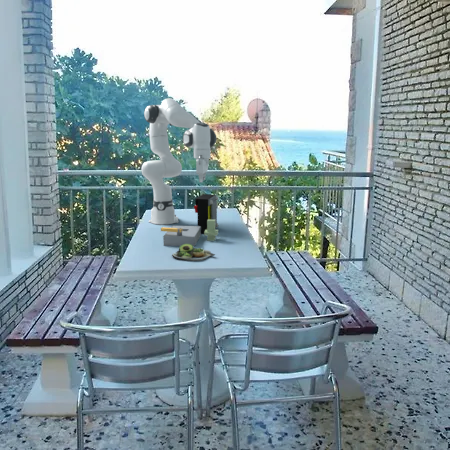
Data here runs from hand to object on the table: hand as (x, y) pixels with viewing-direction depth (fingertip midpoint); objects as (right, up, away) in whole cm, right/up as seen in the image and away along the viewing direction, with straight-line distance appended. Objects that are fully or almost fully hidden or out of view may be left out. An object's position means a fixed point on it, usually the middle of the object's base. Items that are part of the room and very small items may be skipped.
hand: (202, 181), depth 244 cm
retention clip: (-15, -28, -7) cm, 33 cm away
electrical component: (+2, -27, +24) cm, 36 cm away
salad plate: (-4, -38, -26) cm, 46 cm away
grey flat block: (-10, -31, +3) cm, 33 cm away
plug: (+5, -31, +4) cm, 32 cm away
